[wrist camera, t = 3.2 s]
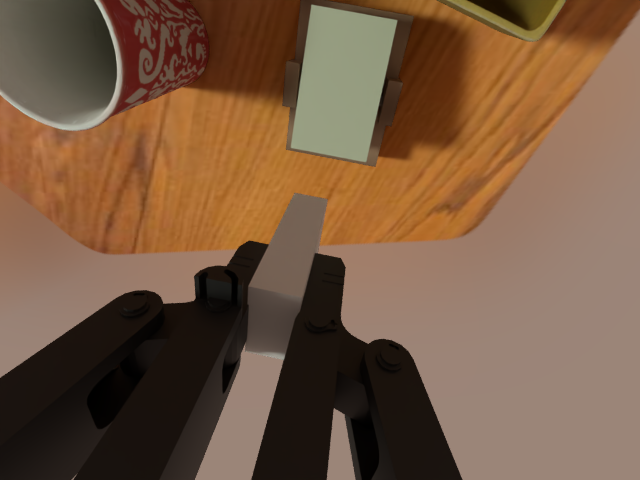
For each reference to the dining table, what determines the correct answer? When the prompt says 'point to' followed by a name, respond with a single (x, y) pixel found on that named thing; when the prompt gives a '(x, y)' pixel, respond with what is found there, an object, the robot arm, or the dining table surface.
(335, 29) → the rocker green
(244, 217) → the dining table surface
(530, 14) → the flower pot
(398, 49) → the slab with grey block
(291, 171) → the dining table surface
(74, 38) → the mug
